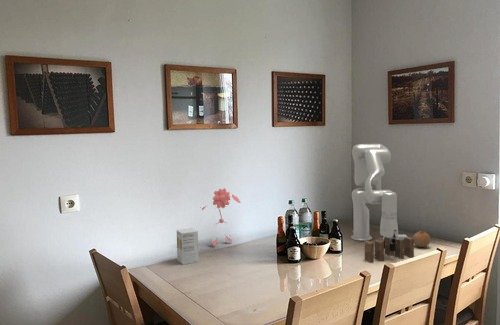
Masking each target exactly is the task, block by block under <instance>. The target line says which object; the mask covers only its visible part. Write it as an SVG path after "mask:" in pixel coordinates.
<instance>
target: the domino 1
mask: <svg viewBox="0 0 500 325" xmlns="http://www.w3.org/2000/svg"><path fill="white" fill-rule="evenodd" d="M364 261H366V262H368V263H369V264H370V263H375V242H373V241H371V240H368V241H364Z"/></svg>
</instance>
